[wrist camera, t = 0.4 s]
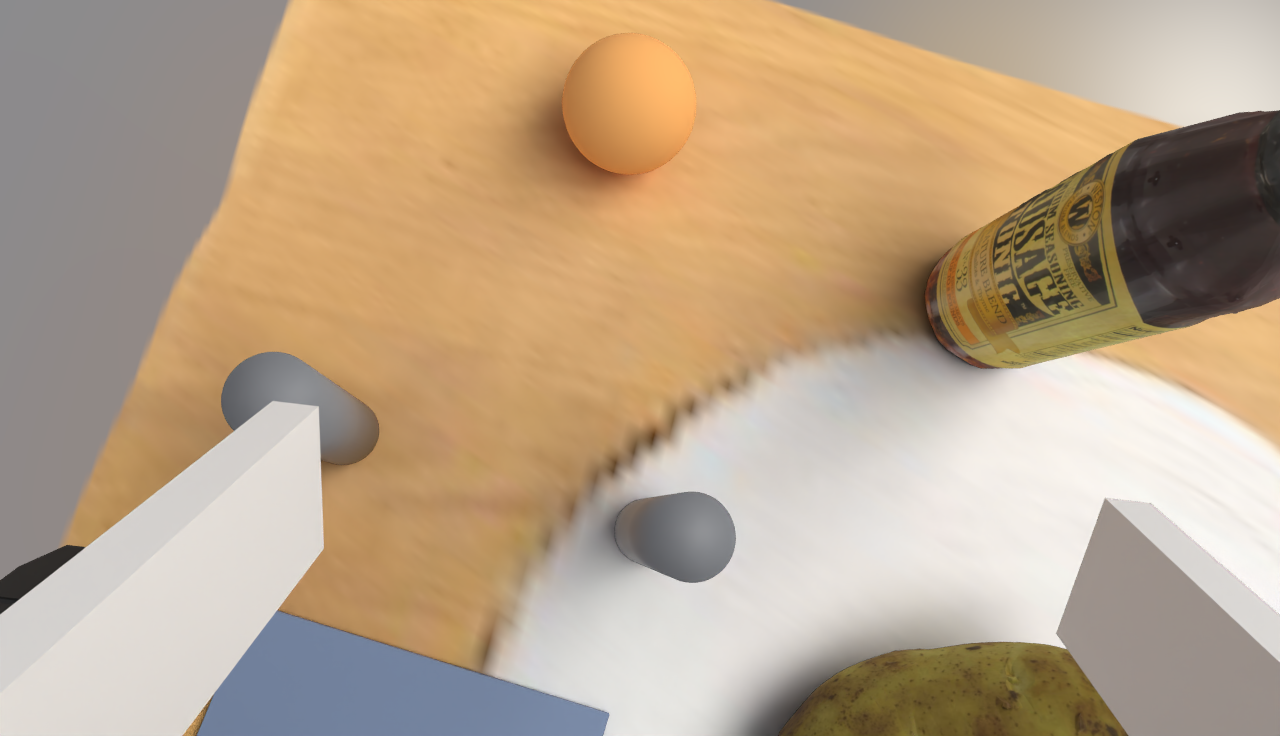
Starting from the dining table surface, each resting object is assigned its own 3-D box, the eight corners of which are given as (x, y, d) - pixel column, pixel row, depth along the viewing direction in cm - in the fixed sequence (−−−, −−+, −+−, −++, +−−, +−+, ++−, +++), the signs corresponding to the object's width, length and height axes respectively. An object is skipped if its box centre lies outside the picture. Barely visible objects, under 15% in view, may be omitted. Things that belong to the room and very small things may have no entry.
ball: (661, 213, 34) (686, 156, 29) (542, 169, 34) (545, 104, 28) (696, 106, 35) (727, 33, 30) (582, 63, 35) (592, -19, 29)
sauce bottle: (923, 230, 36) (1389, -107, 16) (1047, 261, 36) (1638, -29, 17) (907, 366, 34) (1397, 173, 15) (1036, 396, 35) (1667, 246, 16)
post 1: (364, 473, 30) (297, 456, 21) (299, 452, 30) (205, 426, 21) (389, 411, 31) (334, 369, 22) (325, 389, 31) (244, 339, 22)
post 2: (667, 572, 31) (721, 594, 22) (606, 552, 31) (636, 566, 22) (685, 510, 32) (745, 507, 23) (626, 490, 32) (663, 479, 23)
